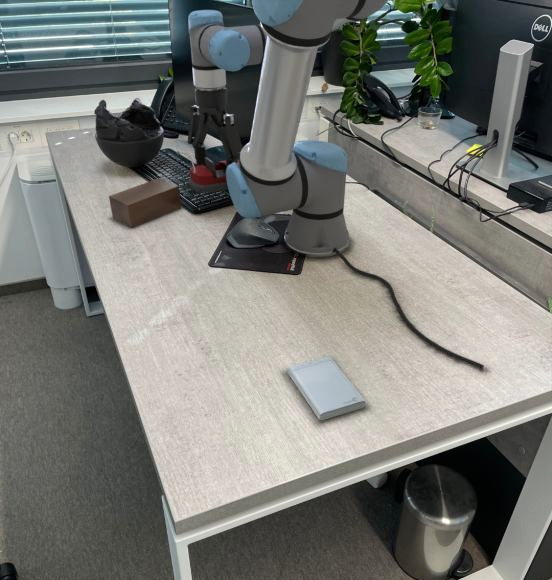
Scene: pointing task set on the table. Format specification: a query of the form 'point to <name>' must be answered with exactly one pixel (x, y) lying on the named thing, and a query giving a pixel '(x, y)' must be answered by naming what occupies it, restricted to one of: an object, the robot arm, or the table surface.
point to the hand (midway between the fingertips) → (217, 178)
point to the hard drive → (326, 388)
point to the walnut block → (145, 202)
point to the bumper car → (207, 176)
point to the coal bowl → (129, 134)
